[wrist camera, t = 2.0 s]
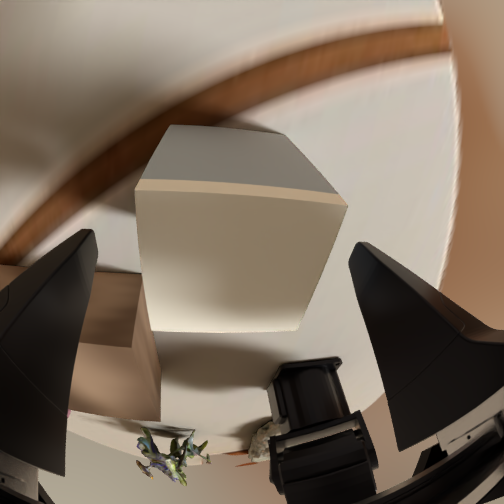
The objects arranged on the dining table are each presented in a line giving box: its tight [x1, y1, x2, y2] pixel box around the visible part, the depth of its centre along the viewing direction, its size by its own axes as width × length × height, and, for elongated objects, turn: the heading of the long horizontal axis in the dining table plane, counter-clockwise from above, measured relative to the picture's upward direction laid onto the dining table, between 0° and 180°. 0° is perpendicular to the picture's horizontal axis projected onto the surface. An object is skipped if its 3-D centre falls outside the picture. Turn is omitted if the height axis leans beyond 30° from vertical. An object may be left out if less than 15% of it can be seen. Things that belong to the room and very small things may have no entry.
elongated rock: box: [248, 422, 298, 462], centre depth 45 cm, size 35×5×10 cm
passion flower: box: [136, 427, 211, 486], centre depth 33 cm, size 11×11×12 cm
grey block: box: [134, 125, 348, 333], centre depth 10 cm, size 5×5×6 cm
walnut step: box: [0, 265, 161, 422], centre depth 15 cm, size 14×12×5 cm
